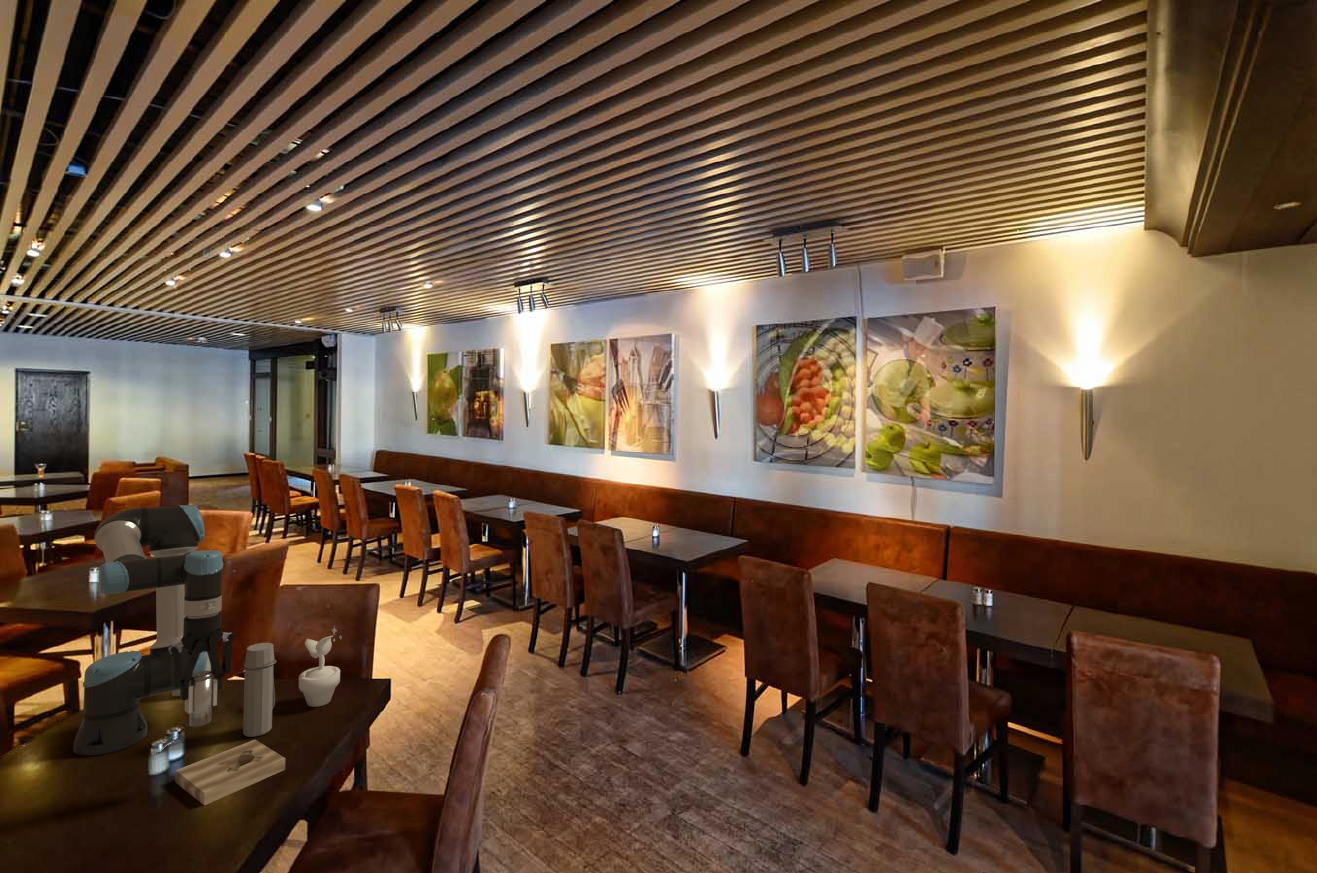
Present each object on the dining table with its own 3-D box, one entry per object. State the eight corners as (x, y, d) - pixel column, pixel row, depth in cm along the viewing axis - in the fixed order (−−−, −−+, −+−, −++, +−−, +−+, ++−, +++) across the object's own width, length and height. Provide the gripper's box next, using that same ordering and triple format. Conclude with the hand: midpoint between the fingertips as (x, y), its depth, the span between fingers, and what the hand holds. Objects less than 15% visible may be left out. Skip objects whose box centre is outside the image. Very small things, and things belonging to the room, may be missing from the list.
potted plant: (346, 701, 194) (349, 624, 194) (310, 715, 185) (312, 634, 184) (325, 690, 201) (327, 617, 201) (289, 703, 191) (291, 626, 191)
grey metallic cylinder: (186, 723, 148) (187, 674, 148) (207, 716, 151) (208, 669, 151) (193, 728, 145) (194, 679, 145) (214, 721, 149) (215, 673, 149)
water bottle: (258, 740, 169) (260, 652, 169) (234, 736, 171) (237, 649, 170) (284, 724, 178) (286, 641, 178) (262, 721, 180) (264, 638, 179)
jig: (175, 782, 149) (175, 770, 149) (254, 750, 164) (254, 739, 164) (204, 805, 140) (204, 793, 140) (285, 769, 156) (285, 758, 156)
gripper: (164, 626, 139) (162, 726, 139) (249, 608, 153) (247, 699, 153) (153, 619, 143) (151, 716, 143) (236, 603, 157) (234, 691, 158)
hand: (200, 707), depth 148 cm, fingers closed on grey metallic cylinder, 4 cm apart
